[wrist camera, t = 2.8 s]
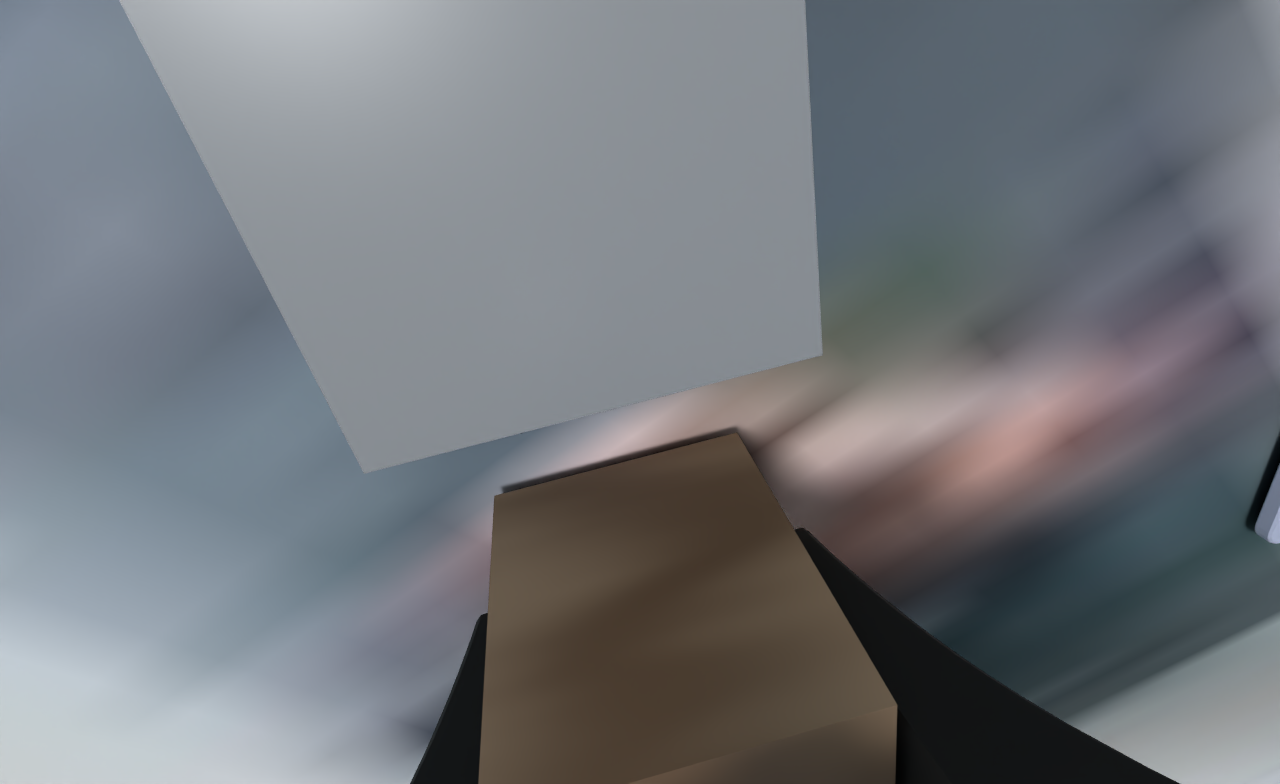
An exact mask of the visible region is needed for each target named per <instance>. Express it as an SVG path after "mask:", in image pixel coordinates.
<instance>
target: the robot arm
mask: <svg viewBox="0 0 1280 784" xmlns="http://www.w3.org/2000/svg"><path fill="white" fill-rule="evenodd" d="M795 532H796V534H797V535H798V537H799V539H800V540H801V542H802V544H803V546H804V547H805V549H806V551H807V552H808V554H809V556H810V557H811V559H812V561H813V563H814V564H815V566H816V568H817V569H818V571H819V573H820V574H821V576H822V578H823V580H824V581H825V583H826V585H827V586H828V588H829V590H830V591H831V593H832V595H833V597H834V598H835V600H836V602H837V603H838V605H839V607H840V608H841V610H842V612H843V614H844V615H845V617H846V619H847V620H848V622H849V624H850V625H851V627H852V629H853V630H854V632H855V634H856V636H857V637H858V639H859V641H860V642H861V644H862V646H863V647H864V649H865V651H866V653H867V654H868V656H869V658H870V659H871V661H872V663H873V664H874V666H875V668H876V670H877V671H878V673H879V675H880V676H881V678H882V680H883V681H884V683H885V685H886V687H887V688H888V690H889V692H890V693H891V695H892V697H893V698H894V700H895V702H896V704H897V736H896V774H895V784H1180V783H1178V782H1176V781H1174V780H1172V779H1170V778H1168V777H1166V776H1164V775H1162V774H1160V773H1158V772H1156V771H1154V770H1152V769H1150V768H1148V767H1146V766H1144V765H1142V764H1141V763H1139V762H1137V761H1135V760H1133V759H1131V758H1129V757H1128V756H1126V755H1124V754H1122V753H1120V752H1118V751H1117V750H1115V749H1113V748H1111V747H1109V746H1107V745H1106V744H1104V743H1102V742H1100V741H1098V740H1096V739H1095V738H1093V737H1091V736H1089V735H1087V734H1085V733H1084V732H1082V731H1080V730H1078V729H1076V728H1074V727H1072V726H1071V725H1069V724H1067V723H1065V722H1064V721H1062V720H1060V719H1059V718H1057V717H1055V716H1054V715H1052V714H1050V713H1049V712H1047V711H1045V710H1044V709H1042V708H1040V707H1039V706H1037V705H1035V704H1034V703H1032V702H1030V701H1029V700H1027V699H1025V698H1024V697H1022V696H1020V695H1019V694H1017V693H1016V692H1014V691H1013V690H1011V689H1009V688H1008V687H1006V686H1005V685H1003V684H1002V683H1000V682H998V681H997V680H995V679H994V678H992V677H991V676H989V675H988V674H986V673H985V672H983V671H982V670H980V669H979V668H977V667H976V666H974V665H973V664H971V663H970V662H968V661H967V660H965V659H964V658H963V657H961V656H960V655H958V654H957V653H955V652H954V651H953V650H951V649H950V648H948V647H947V646H946V645H944V644H943V643H942V642H940V641H939V640H937V639H936V638H935V637H933V636H932V635H931V634H929V633H928V632H926V631H925V630H924V629H923V628H921V627H920V626H919V625H917V624H916V623H915V622H913V621H912V620H911V619H909V618H908V617H907V616H906V615H904V614H903V613H902V612H901V611H899V610H898V609H897V608H896V607H894V606H893V605H892V604H891V603H889V602H888V601H887V600H886V599H884V598H883V597H882V596H881V595H879V594H878V593H877V592H876V591H874V590H873V589H872V588H871V587H870V586H868V585H867V584H866V583H865V582H864V581H863V580H861V579H860V578H859V577H858V576H857V575H856V574H854V573H853V572H852V571H851V570H850V569H849V568H848V567H846V566H845V565H844V564H843V563H842V562H841V561H840V560H839V559H837V558H836V557H835V556H834V555H833V554H832V553H831V552H830V551H829V550H828V549H827V548H825V547H824V546H823V545H822V544H821V543H820V542H819V541H818V540H817V539H816V538H815V537H814V536H813V535H812V534H811V533H810V532H809V531H807V530H805V529H804V528H799V529H795ZM1255 532H1256V533H1257V535H1259V536H1261V537H1262V538H1264V539H1265V540H1267V541H1268V542H1271V543H1274V544H1276V543H1280V463H1279V466H1278V468H1277V471H1276V473H1275V476H1274V478H1273V481H1272V483H1271V486H1270V488H1269V491H1268V493H1267V496H1266V498H1265V501H1264V503H1263V506H1262V508H1261V511H1260V513H1259V516H1258V518H1257V521H1256V524H1255ZM487 621H488V613H486V614H483V615H481V616H480V617H479V619H478V620H477V622H476V625H475V628H474V631H473V634H472V637H471V640H470V642H469V645H468V648H467V651H466V654H465V656H464V659H463V662H462V664H461V667H460V670H459V672H458V675H457V677H456V680H455V683H454V685H453V688H452V690H451V693H450V695H449V698H448V700H447V702H446V705H445V707H444V710H443V712H442V714H441V717H440V719H439V721H438V724H437V726H436V728H435V731H434V733H433V735H432V738H431V740H430V742H429V745H428V747H427V749H426V751H425V754H424V756H423V758H422V760H421V762H420V764H419V766H418V768H417V770H416V772H415V775H414V777H413V779H412V781H411V783H410V784H478V782H479V764H480V746H481V728H482V710H483V692H484V674H485V657H486V639H487Z"/></svg>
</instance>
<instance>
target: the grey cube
mask: <svg viewBox="0 0 1280 784" xmlns="http://www.w3.org/2000/svg"><path fill="white" fill-rule="evenodd" d="M119 1H120V3H121V4H122V6H123V8H124V10H125V12H126V14H127V16H128V18H129V20H130V22H131V24H132V26H133V28H134V30H135V32H136V33H137V35H138V37H139V39H140V41H141V43H142V45H143V47H144V49H145V51H146V53H147V55H148V57H149V59H150V61H151V62H152V64H153V66H154V68H155V70H156V72H157V74H158V76H159V78H160V80H161V82H162V84H163V86H164V88H165V90H166V91H167V93H168V95H169V97H170V99H171V101H172V103H173V105H174V107H175V109H176V111H177V113H178V115H179V117H180V119H181V120H182V122H183V124H184V126H185V128H186V130H187V132H188V134H189V136H190V138H191V140H192V142H193V144H194V146H195V148H196V149H197V151H198V153H199V155H200V157H201V159H202V161H203V163H204V165H205V167H206V169H207V171H208V173H209V175H210V177H211V178H212V180H213V182H214V184H215V186H216V188H217V190H218V192H219V194H220V196H221V198H222V200H223V202H224V204H225V206H226V207H227V209H228V211H229V213H230V215H231V217H232V219H233V221H234V223H235V225H236V227H237V229H238V231H239V233H240V235H241V236H242V238H243V240H244V242H245V244H246V246H247V248H248V250H249V252H250V254H251V256H252V258H253V260H254V262H255V264H256V266H257V267H258V269H259V271H260V273H261V275H262V277H263V279H264V281H265V283H266V285H267V287H268V289H269V291H270V293H271V295H272V296H273V298H274V300H275V302H276V304H277V306H278V308H279V310H280V312H281V314H282V316H283V318H284V320H285V322H286V324H287V325H288V327H289V329H290V331H291V333H292V335H293V337H294V339H295V341H296V343H297V345H298V347H299V349H300V351H301V353H302V354H303V356H304V358H305V360H306V362H307V364H308V366H309V368H310V370H311V372H312V374H313V376H314V378H315V380H316V382H317V383H318V385H319V387H320V389H321V391H322V393H323V395H324V397H325V399H326V401H327V403H328V405H329V407H330V409H331V411H332V412H333V414H334V416H335V418H336V420H337V422H338V424H339V426H340V428H341V430H342V432H343V434H344V436H345V438H346V440H347V441H348V443H349V445H350V447H351V449H352V451H353V453H354V455H355V457H356V459H357V461H358V463H359V465H360V467H361V469H362V470H363V472H364V474H365V473H368V472H372V471H376V470H380V469H384V468H388V467H392V466H395V465H399V464H403V463H407V462H411V461H415V460H419V459H423V458H426V457H430V456H434V455H438V454H442V453H446V452H450V451H453V450H457V449H461V448H465V447H469V446H473V445H477V444H481V443H484V442H488V441H492V440H496V439H500V438H504V437H508V436H511V435H515V434H519V433H523V432H527V431H531V430H535V429H538V428H542V427H546V426H550V425H554V424H558V423H562V422H566V421H569V420H573V419H577V418H581V417H585V416H589V415H593V414H596V413H600V412H604V411H608V410H612V409H616V408H620V407H624V406H627V405H631V404H635V403H639V402H643V401H647V400H651V399H654V398H658V397H662V396H666V395H670V394H674V393H678V392H682V391H685V390H689V389H693V388H697V387H701V386H705V385H709V384H712V383H716V382H720V381H724V380H728V379H732V378H736V377H739V376H743V375H747V374H751V373H755V372H759V371H763V370H767V369H770V368H774V367H778V366H782V365H786V364H790V363H794V362H797V361H801V360H805V359H809V358H813V357H817V356H821V355H823V353H822V333H821V313H820V293H819V273H818V252H817V232H816V212H815V192H814V172H813V152H812V132H811V111H810V91H809V71H808V51H807V31H806V11H805V0H119Z"/></svg>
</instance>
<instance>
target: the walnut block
mask: <svg viewBox="0 0 1280 784" xmlns="http://www.w3.org/2000/svg"><path fill="white" fill-rule="evenodd" d="M896 736H897V704H896V702H895V700H894V698H893V697H892V695H891V693H890V692H889V690H888V688H887V687H886V685H885V683H884V681H883V680H882V678H881V676H880V675H879V673H878V671H877V670H876V668H875V666H874V664H873V663H872V661H871V659H870V658H869V656H868V654H867V653H866V651H865V649H864V647H863V646H862V644H861V642H860V641H859V639H858V637H857V636H856V634H855V632H854V630H853V629H852V627H851V625H850V624H849V622H848V620H847V619H846V617H845V615H844V614H843V612H842V610H841V608H840V607H839V605H838V603H837V602H836V600H835V598H834V597H833V595H832V593H831V591H830V590H829V588H828V586H827V585H826V583H825V581H824V580H823V578H822V576H821V574H820V573H819V571H818V569H817V568H816V566H815V564H814V563H813V561H812V559H811V557H810V556H809V554H808V552H807V551H806V549H805V547H804V546H803V544H802V542H801V540H800V539H799V537H798V535H797V534H796V532H795V530H794V529H793V527H792V525H791V524H790V522H789V520H788V518H787V517H786V515H785V513H784V512H783V510H782V508H781V507H780V505H779V503H778V501H777V500H776V498H775V496H774V495H773V493H772V491H771V490H770V488H769V486H768V484H767V483H766V481H765V479H764V478H763V476H762V474H761V473H760V471H759V469H758V467H757V466H756V464H755V462H754V461H753V459H752V457H751V456H750V454H749V452H748V450H747V449H746V447H745V445H744V444H743V442H742V440H741V439H740V437H739V435H738V434H737V433H733V434H729V435H725V436H722V437H718V438H714V439H710V440H706V441H702V442H699V443H695V444H691V445H687V446H683V447H679V448H676V449H672V450H668V451H664V452H660V453H656V454H653V455H649V456H645V457H641V458H637V459H633V460H630V461H626V462H622V463H618V464H614V465H610V466H607V467H603V468H599V469H595V470H591V471H587V472H584V473H580V474H576V475H572V476H568V477H565V478H561V479H557V480H553V481H549V482H545V483H542V484H538V485H534V486H530V487H526V488H522V489H519V490H515V491H511V492H507V493H503V494H499V495H496V496H494V513H493V531H492V549H491V567H490V585H489V603H488V621H487V639H486V657H485V674H484V692H483V710H482V728H481V746H480V764H479V782H478V784H895V774H896Z"/></svg>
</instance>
